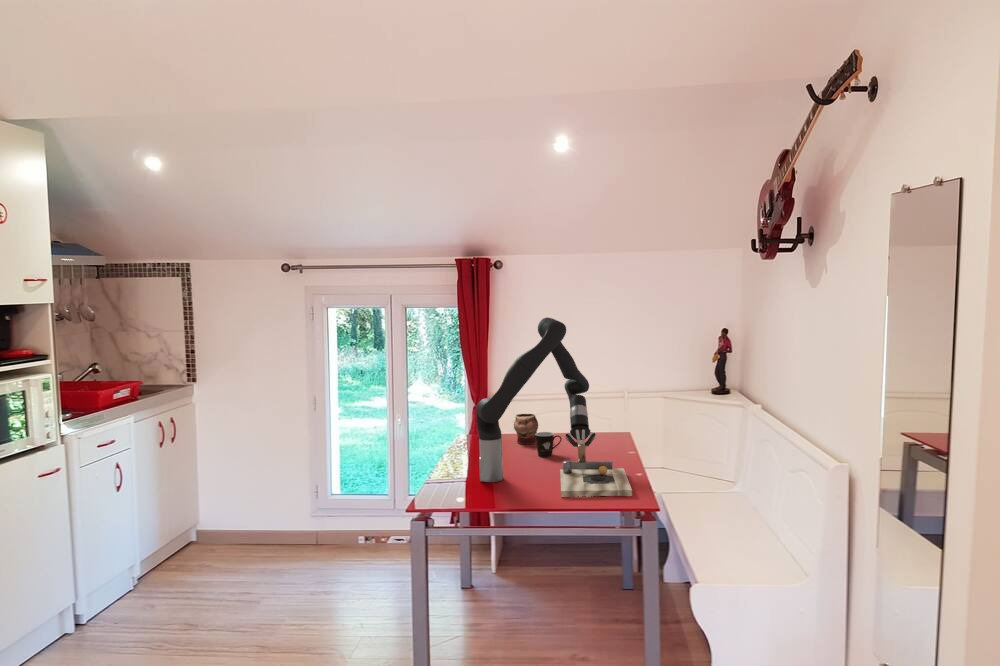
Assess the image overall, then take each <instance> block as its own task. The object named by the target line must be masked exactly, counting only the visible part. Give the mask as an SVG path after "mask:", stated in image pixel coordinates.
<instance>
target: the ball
mask: <svg viewBox="0 0 1000 666" xmlns="http://www.w3.org/2000/svg"><path fill="white" fill-rule="evenodd" d="M599 473H600V474H602V475H605V474H606V473H607V468H606V467H605V466H600V467H599Z"/></svg>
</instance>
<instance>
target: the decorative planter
mask: <svg viewBox="0 0 1000 666" xmlns="http://www.w3.org/2000/svg"><path fill="white" fill-rule="evenodd" d="M513 429H514V431H515V432H516V435H517V439H516V443H517V444H520V445H532V444H536V437H535V434H536V433H538V429H539V422H538V420H537V417H536V415H535V413H519V414H516V415H515V420H514V423H513Z"/></svg>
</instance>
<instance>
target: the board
mask: <svg viewBox="0 0 1000 666" xmlns="http://www.w3.org/2000/svg"><path fill="white" fill-rule="evenodd" d="M612 468H613V467H612ZM559 475H560V477H559V478H560V496H561V497H571V498H583V497H582V496H586V497H585V498H594V497H593V496H632V497H633V489H632V487H631V484H630V482H629V479H628V476H627V474H626V471H625V468H623V467H617V468H616V467H615V468H613V470H607V473H606V474H605V475H602V474H600V473H599V470H576V469H572V473H570V474H565V473H563V468H562V469H559ZM573 496H574V497H573ZM578 496H579V497H578ZM591 496H592V497H591Z"/></svg>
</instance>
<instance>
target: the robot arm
mask: <svg viewBox="0 0 1000 666" xmlns="http://www.w3.org/2000/svg"><path fill="white" fill-rule="evenodd" d="M537 333H538V334H539V336H540V338H541V339H540V340H539V342H538V343H537V344H536V345H535V346H533V347H532V348H530V349H528V350H527V351H525V352H523V353H522V354H520V355H519V356H517V358H516V359H515V360H514V362H513V363H511V365H510V366H509V368H508V369H507V371H506V373H505V375H504V377H503V379H502V382H501V384H500V386H499V388H498V389H497V390H496V392H495V393H494V394H493V395H492V397H490V398H489V397H486V398H482V399H481V400H480V401H478V403H477V405H476V408H475V409H476V410H475V413H476V416H475V417H476V428H477V432H478V440H479V441H478V444H479V459H478V460H479V463H478V464H479V481H480V482H483V483H495V482H500V481H501V482H502V480H504V469H503V468H504V466H503V465H504V464H503V463H504V462H503V445H502V444H503V443H502V441H503V440H502V439H503V438H502V430H501V427H500V423H499V420H500V419H501V418H502V417H503V415H504V414H505V412H506V411H507V409H508V408H509V406H510V403H512V401H513V399H514V398H515V397H516V396H517V394H518V393H519V392H520V391H521V389H523V387H524V386H525V385H526V384H527V382H528V381H529V380H530V379H531V378H532V376H533V375H534V373H536V371H537V369H538V368H539V367H540V365H541V364H542V363H543V362H544V361H545V360H546V358H547V357H548V356H549V355H550V354H552V357H553V358H554V360H555V362H556V364H557V365H558V368H559V369H560V373H561V374H562V377H563V378H564V379H565V380H566V381H565V383H564V390H565V392H566V395H567V397H568V401H569V409H570V411H569V420H570V421H569V422H570V423H569V424H570V429H569V432H568V433H565V439H566V441H568V442H569V444H571V446H573V447H576V448H577V449H578V444H585V448H586V447H589V446H590V445H591V444H592V442H593V441H594V440H595V439H596V433H595V432H592V431H591V429H590V425H589V414H588V407H587V400H586V397H585V396H584V395H582V394H584V393H587V392H588V391H589V389H590V383H589V381H588V378H586V377H585V375H584V374H583V373H582V372H581V371H580V370H579V368H578V366H577V365H576V362H575V359H574V357H573V356H572V355H571V353H570V352H569V351H568V349H567V348H566V346H565V345H564V344H563V343H562V341H563V340H564V338H565V336H566V334H567V326H566V325H565V323H563V322H562V321H559V320H557V319H555V318H552V317H544V318H542V319H541V320H540V321H539V322H538V325H537ZM587 438H588V439H587Z"/></svg>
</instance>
